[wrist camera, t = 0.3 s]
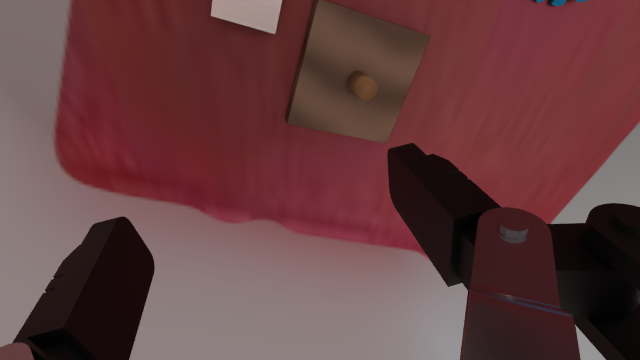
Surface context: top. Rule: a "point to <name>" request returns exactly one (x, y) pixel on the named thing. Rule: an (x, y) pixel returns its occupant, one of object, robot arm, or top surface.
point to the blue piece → (559, 2)
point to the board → (343, 57)
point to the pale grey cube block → (249, 13)
